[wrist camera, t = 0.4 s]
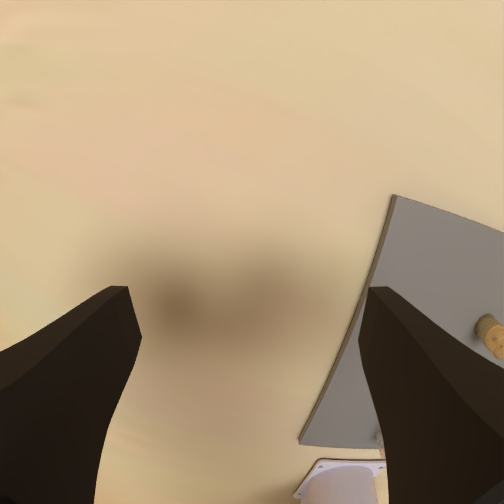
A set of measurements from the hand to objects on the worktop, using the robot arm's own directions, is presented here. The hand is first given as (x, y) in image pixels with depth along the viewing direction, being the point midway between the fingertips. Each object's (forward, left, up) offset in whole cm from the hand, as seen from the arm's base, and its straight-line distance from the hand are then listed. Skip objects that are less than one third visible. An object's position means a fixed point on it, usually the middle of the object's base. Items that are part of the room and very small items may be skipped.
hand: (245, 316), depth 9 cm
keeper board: (-7, -18, -10) cm, 22 cm away
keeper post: (-3, -18, -10) cm, 21 cm away
